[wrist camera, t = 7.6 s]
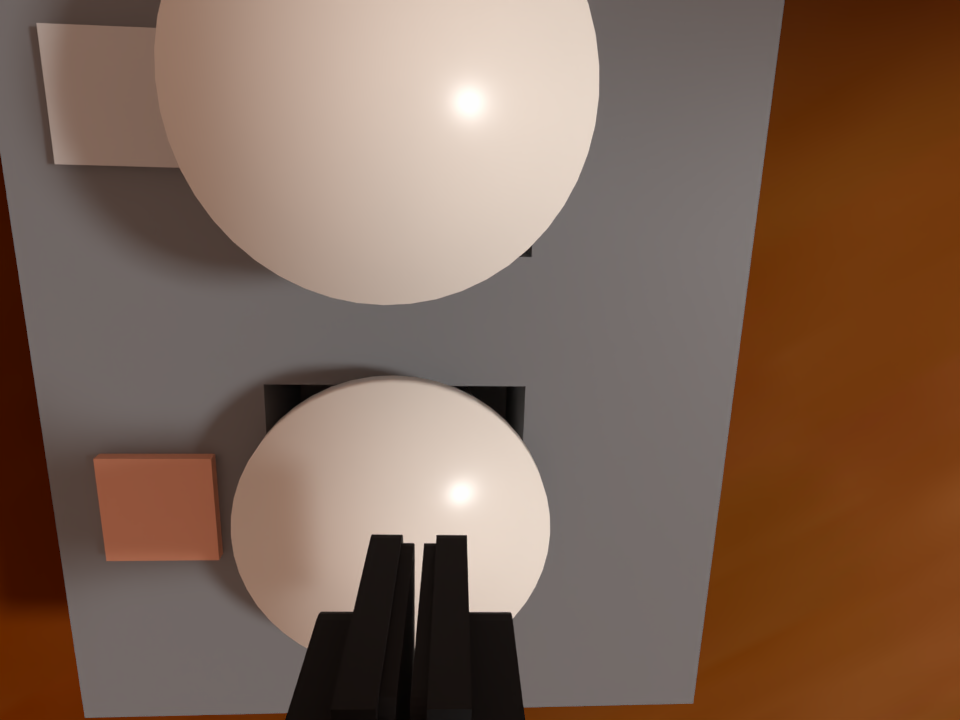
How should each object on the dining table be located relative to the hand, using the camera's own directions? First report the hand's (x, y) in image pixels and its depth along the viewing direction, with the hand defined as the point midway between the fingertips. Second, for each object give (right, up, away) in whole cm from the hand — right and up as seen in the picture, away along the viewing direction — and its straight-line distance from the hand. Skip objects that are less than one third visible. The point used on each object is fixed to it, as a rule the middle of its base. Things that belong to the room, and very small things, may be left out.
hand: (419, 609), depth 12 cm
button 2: (-1, +2, +8) cm, 9 cm away
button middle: (-1, +10, +4) cm, 11 cm away
